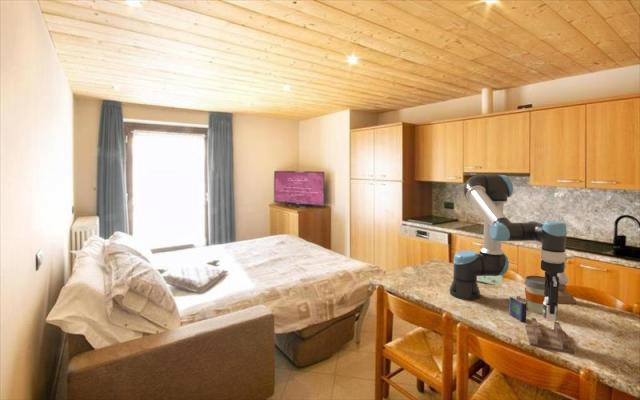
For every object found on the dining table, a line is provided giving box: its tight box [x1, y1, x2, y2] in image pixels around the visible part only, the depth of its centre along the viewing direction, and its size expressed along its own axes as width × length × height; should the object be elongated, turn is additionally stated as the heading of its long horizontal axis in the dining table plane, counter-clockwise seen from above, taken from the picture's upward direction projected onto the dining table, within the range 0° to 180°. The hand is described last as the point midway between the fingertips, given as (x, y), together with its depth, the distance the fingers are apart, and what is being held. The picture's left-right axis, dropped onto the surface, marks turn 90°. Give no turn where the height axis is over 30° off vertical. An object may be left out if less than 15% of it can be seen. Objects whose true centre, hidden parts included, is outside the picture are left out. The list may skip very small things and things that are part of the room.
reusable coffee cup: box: [524, 275, 545, 315], centre depth 155 cm, size 13×13×15 cm
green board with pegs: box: [477, 275, 503, 285], centre depth 201 cm, size 25×21×9 cm
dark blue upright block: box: [508, 295, 528, 324], centre depth 147 cm, size 9×3×11 cm, turn 8°
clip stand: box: [524, 317, 576, 355], centre depth 129 cm, size 16×14×4 cm
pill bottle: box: [541, 297, 559, 322], centre depth 128 cm, size 5×5×8 cm
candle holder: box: [557, 252, 577, 305], centre depth 167 cm, size 11×11×24 cm
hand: (549, 317), depth 128 cm, fingers closed on pill bottle, 5 cm apart
